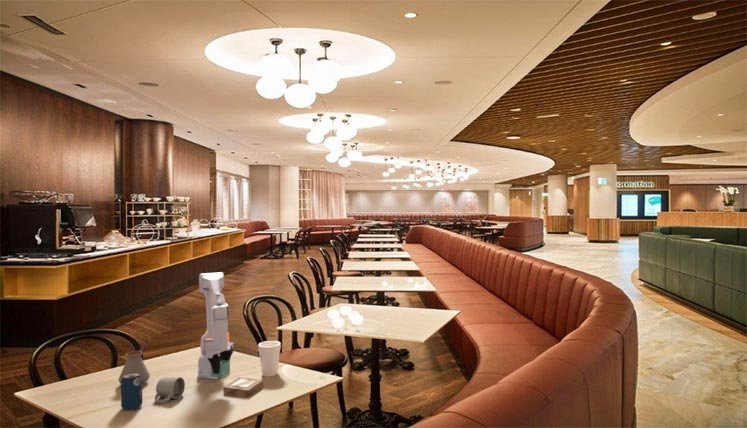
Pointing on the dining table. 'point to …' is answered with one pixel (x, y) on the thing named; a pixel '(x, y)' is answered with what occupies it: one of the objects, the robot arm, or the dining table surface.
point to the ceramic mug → (169, 388)
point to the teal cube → (222, 369)
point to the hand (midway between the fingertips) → (220, 370)
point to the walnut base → (243, 387)
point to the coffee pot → (136, 364)
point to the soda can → (131, 391)
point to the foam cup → (269, 357)
